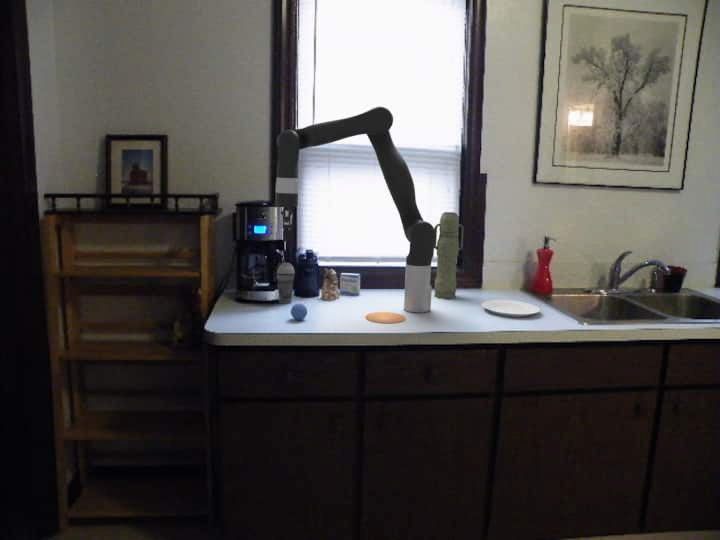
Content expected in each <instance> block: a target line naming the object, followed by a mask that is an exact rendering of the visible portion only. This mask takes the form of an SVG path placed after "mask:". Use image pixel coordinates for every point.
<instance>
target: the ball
mask: <svg viewBox="0 0 720 540" xmlns="http://www.w3.org/2000/svg"><path fill="white" fill-rule="evenodd" d="M290 315H291V316H292V318H293V319H294V320H297V321H301V320H304V319H305V318H306V317H307V315H308V309H307V307H306V306H305V305H304V304H303V303H296V304H294V305H293V306H292V307H291V309H290Z"/></svg>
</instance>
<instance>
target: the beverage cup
mask: <svg viewBox="0 0 720 540" xmlns="http://www.w3.org/2000/svg"><path fill="white" fill-rule="evenodd" d="M282 255H283V258H282V260H283V259H284V260H285V257H284V250H281V256H282ZM281 263H282V264H281ZM281 263H280V264H281V265H280V264H279V265H280V266H279V265H278V266H279V267H278V266H277V267H278V269H277V268H276V269H277V273H276V272H275V275H276V274H277V277H276V280H277V279H278V283H277V294H278V293H279V295H278V300H279V301H278V302H280V303H279V304H281V303H282V305H288V303H290V304H292V299H293V290H294V289H293V288H294V279H295V275H296V272H295V268H294V266H293V265H292V264H291V263H289V262H286V261H284V263H283V262H281Z"/></svg>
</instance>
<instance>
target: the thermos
mask: <svg viewBox="0 0 720 540" xmlns="http://www.w3.org/2000/svg"><path fill="white" fill-rule="evenodd" d="M459 221H460V220H459V215H458V213H456V212H451V211H450V212H448V211H446V212H442V213H441V216H440V219H439V223H437V224H436V225H434V226H433V228H434V230H435V245H434V250H436V256H437V261H436V277H435V280H434V298H436V297H438V298H437V299H440V298H445V299H444V300H452V299H451V298H454V299H456V292H457V279H456V276H457V262H458V261H457V260H458V257H459V252H460V251H461V250H462V251H463V246H464V245H463V244H464V230H465V227H464V226H463V225H462V224H460V222H459ZM438 227H439V235H438ZM459 228H460V237H459V236H458V232H459ZM437 235H438V236H437ZM437 237H438V239H437Z"/></svg>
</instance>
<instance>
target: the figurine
mask: <svg viewBox="0 0 720 540" xmlns="http://www.w3.org/2000/svg"><path fill="white" fill-rule="evenodd" d="M324 272H325V273H324V274H323V284H322V288H321V295H320V296H321V300H324V299H325V300H324V301H337V300H336V299H338V300H340V290H339V277H338V276H337V275H338V274H337V273H336V271H335V270H334V269H333V268H330V269H328V268H325V269H324Z"/></svg>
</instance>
